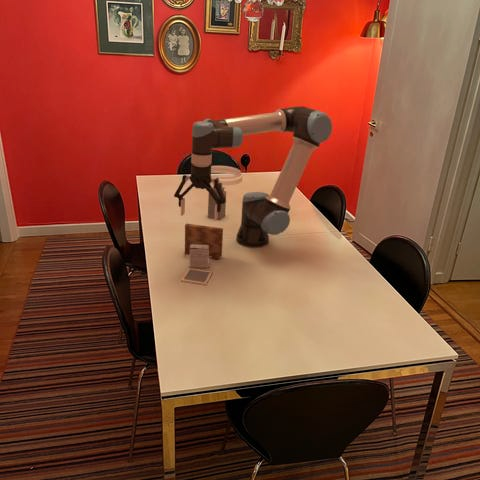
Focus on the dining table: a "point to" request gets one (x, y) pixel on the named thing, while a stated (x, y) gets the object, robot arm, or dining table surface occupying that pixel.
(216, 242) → the wooden board with stops
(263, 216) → the robot arm
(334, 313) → the dining table surface
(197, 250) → the box
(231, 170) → the pale pink ring
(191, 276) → the picture frame
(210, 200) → the perfume bottle
